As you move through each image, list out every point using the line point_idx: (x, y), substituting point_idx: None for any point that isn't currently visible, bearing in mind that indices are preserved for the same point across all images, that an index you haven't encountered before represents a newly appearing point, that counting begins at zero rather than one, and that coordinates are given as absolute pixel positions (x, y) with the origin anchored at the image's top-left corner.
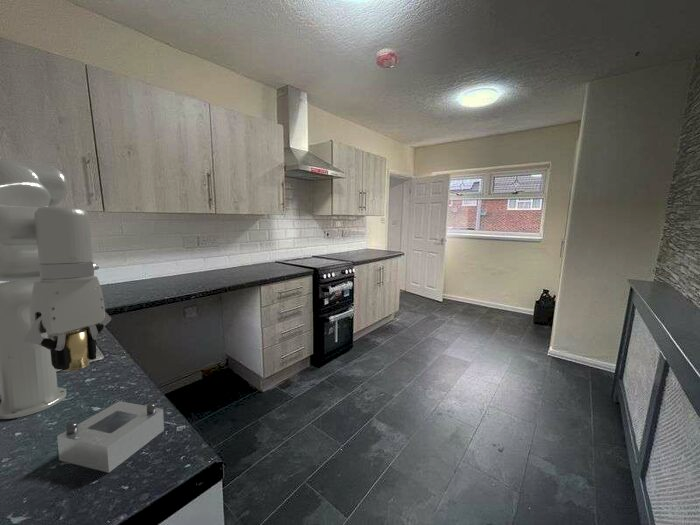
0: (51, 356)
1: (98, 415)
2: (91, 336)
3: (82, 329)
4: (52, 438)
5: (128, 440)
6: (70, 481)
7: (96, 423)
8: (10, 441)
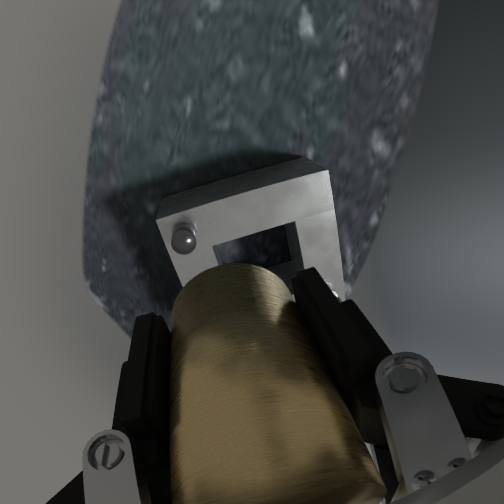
0: (118, 407)
1: (256, 203)
2: (372, 452)
3: (380, 492)
4: (182, 78)
5: None
6: (160, 279)
7: (236, 237)
8: (126, 10)
